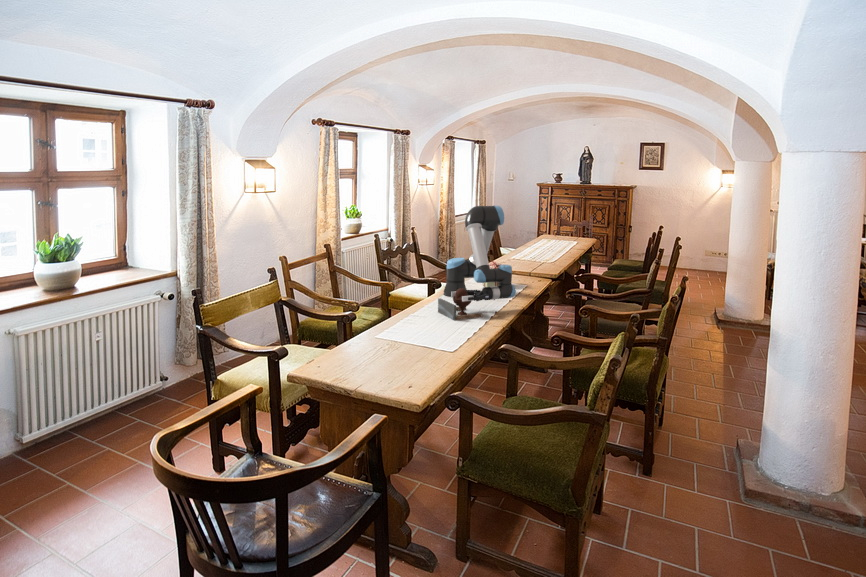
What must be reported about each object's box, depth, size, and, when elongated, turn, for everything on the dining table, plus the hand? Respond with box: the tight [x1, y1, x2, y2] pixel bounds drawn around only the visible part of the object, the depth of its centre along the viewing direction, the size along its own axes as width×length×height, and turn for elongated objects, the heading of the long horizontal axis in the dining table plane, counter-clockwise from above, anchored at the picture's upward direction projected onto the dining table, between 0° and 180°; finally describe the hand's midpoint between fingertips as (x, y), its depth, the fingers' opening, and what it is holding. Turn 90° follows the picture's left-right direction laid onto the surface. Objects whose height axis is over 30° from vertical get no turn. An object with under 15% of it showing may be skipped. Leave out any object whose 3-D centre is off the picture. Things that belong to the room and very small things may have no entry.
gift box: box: [481, 260, 505, 288], centre depth 407 cm, size 17×18×17 cm
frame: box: [437, 297, 483, 321], centre depth 333 cm, size 17×19×8 cm
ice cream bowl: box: [452, 288, 472, 316], centre depth 333 cm, size 11×11×15 cm
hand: (456, 296), depth 331 cm, fingers open, 12 cm apart
